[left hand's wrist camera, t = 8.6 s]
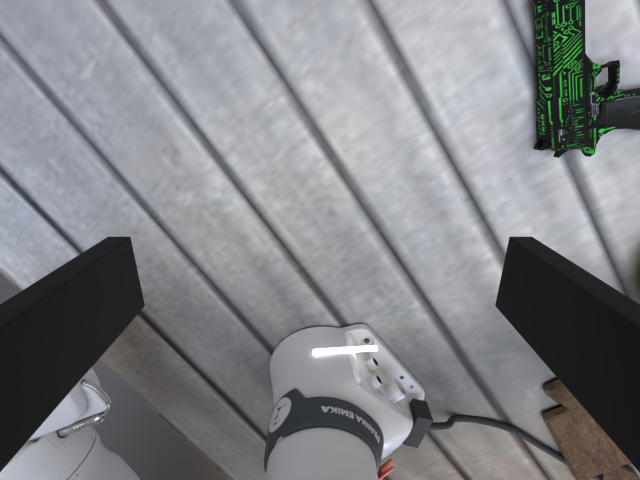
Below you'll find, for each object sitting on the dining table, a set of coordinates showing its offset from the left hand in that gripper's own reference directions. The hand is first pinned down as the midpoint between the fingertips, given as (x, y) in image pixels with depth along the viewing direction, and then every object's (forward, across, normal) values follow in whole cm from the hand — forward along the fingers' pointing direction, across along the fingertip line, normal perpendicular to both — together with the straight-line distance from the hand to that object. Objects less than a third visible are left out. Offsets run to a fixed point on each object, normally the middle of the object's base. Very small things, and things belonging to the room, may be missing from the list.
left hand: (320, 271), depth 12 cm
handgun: (+28, +28, +8) cm, 40 cm away
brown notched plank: (+28, +41, -41) cm, 64 cm away
